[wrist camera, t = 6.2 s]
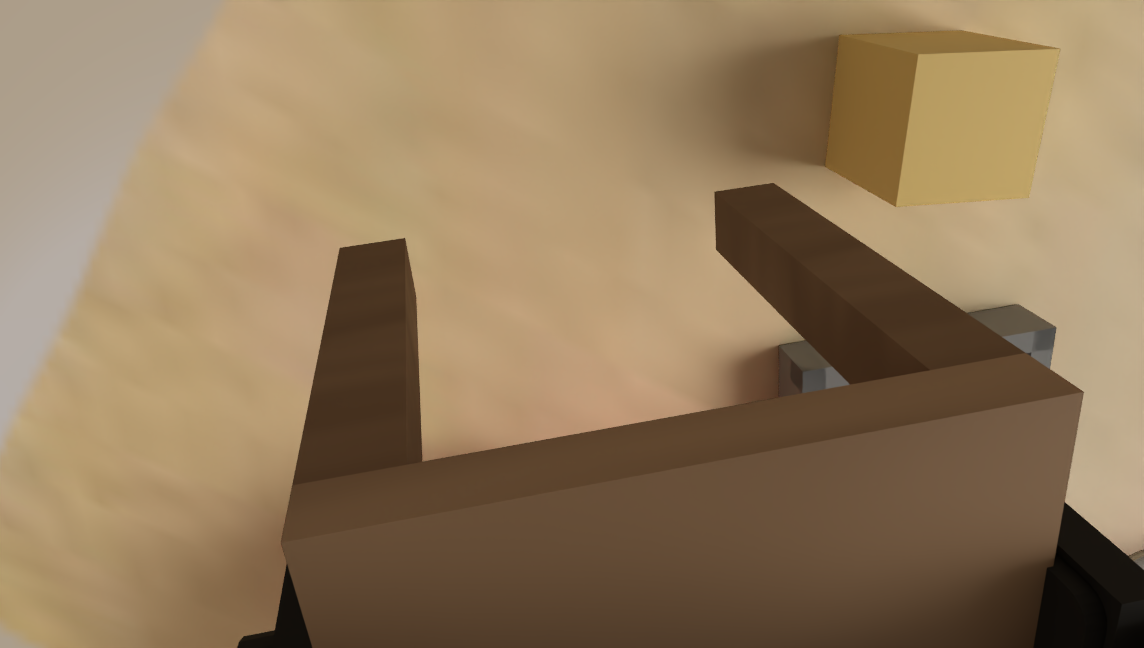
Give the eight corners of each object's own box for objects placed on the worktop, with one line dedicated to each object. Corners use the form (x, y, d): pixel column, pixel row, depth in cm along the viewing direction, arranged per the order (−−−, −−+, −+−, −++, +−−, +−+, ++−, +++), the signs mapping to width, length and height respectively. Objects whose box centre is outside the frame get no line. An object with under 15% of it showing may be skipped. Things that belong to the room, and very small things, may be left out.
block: (838, 34, 26) (918, 54, 22) (961, 30, 27) (1060, 48, 23) (824, 166, 28) (896, 206, 24) (939, 159, 28) (1029, 197, 24)
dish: (778, 345, 30) (802, 372, 28) (1018, 304, 31) (1056, 327, 29) (777, 550, 34) (798, 585, 32) (991, 508, 35) (1023, 539, 33)
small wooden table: (339, 247, 13) (280, 542, 7) (773, 183, 14) (1083, 391, 8) (418, 596, 16) (428, 1032, 10) (773, 526, 17) (996, 885, 11)
